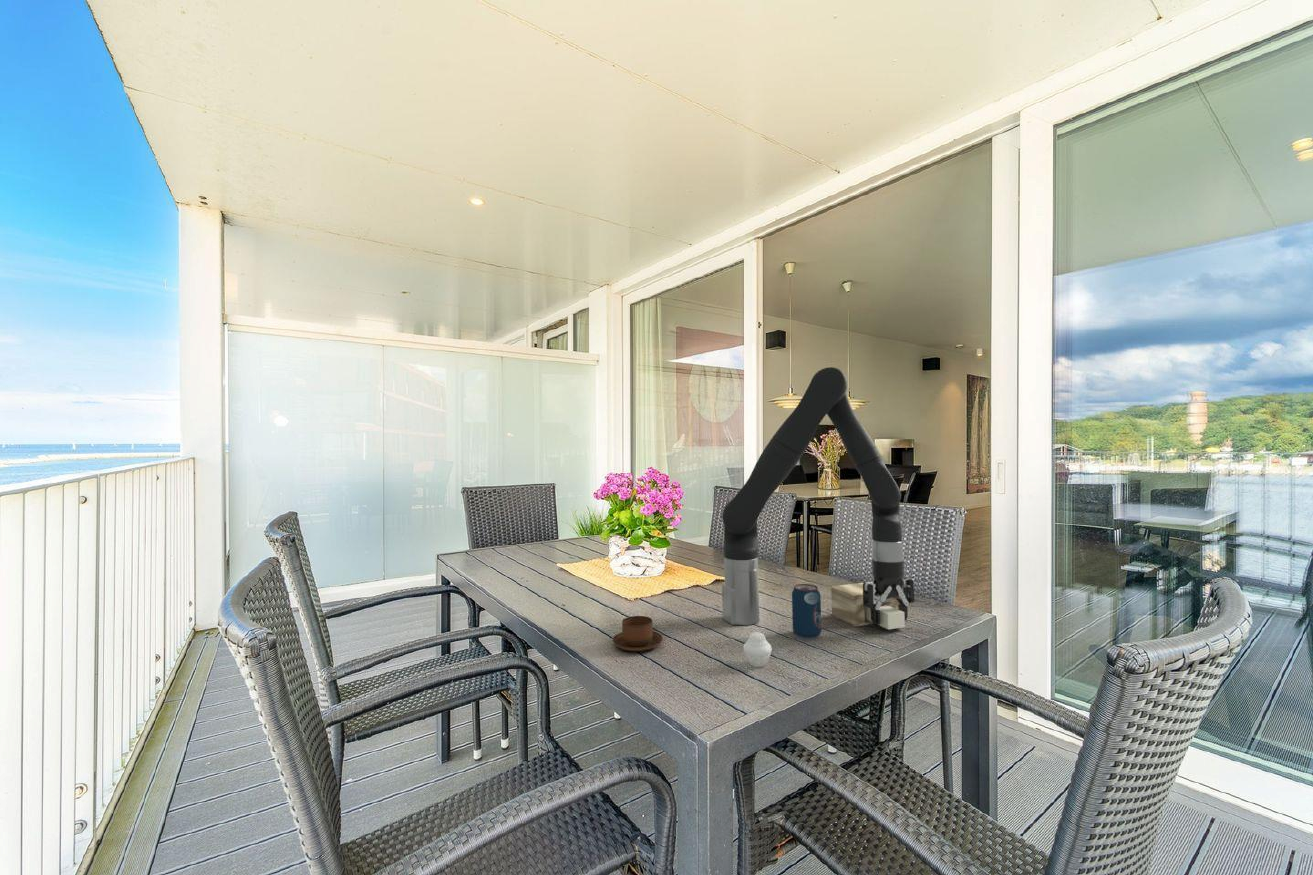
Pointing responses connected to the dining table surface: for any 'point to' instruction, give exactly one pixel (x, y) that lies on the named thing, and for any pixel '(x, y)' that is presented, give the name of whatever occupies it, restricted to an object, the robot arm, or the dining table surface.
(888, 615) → the white two-segment bar
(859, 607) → the dispenser
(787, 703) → the dining table surface
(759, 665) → the white rounded piece
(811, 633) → the soda can
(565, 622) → the dining table surface
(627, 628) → the cup and saucer
